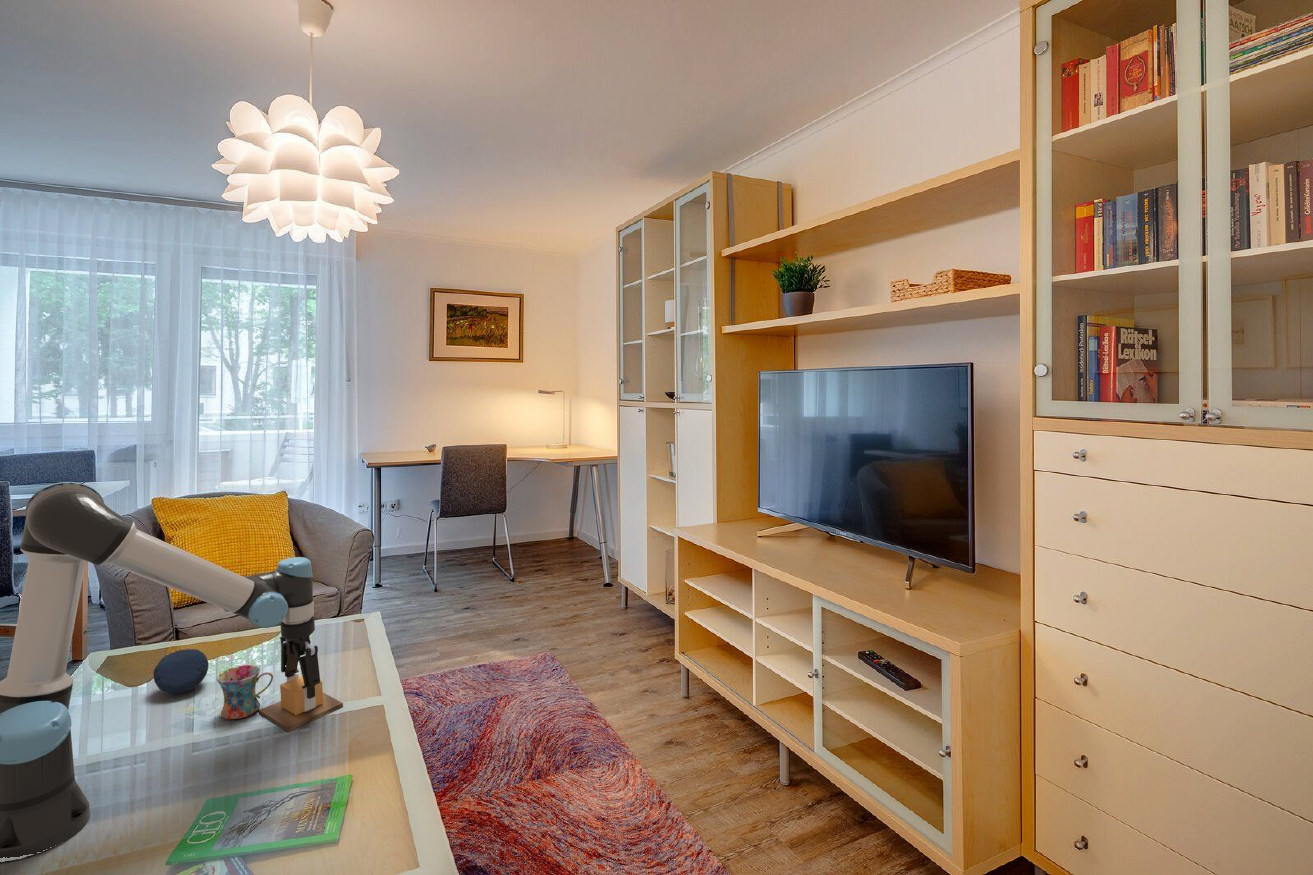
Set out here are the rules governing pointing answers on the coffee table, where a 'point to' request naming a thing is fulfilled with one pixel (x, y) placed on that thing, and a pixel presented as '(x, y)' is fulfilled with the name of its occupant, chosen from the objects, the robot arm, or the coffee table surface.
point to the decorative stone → (181, 671)
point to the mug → (240, 691)
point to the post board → (294, 721)
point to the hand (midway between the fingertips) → (301, 704)
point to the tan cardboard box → (297, 695)
